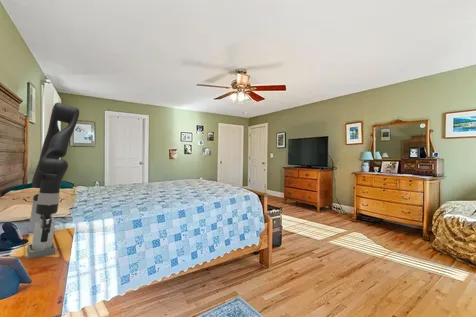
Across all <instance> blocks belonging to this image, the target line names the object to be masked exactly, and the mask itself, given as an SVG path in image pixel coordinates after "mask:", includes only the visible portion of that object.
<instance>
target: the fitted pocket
mask: <svg viewBox="0 0 476 317" xmlns="http://www.w3.org/2000/svg"><path fill="white" fill-rule="evenodd" d="M31 249H32V243H30V244H27V248H26V252H27V258H28V259H33V258H40V257H45V256H46V257H47V256H52V255H56V251H57V247H56V246H55V244H54V241H53V242H52V248H51V249H46V250H39V251H36V250H31Z"/></svg>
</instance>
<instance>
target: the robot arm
mask: <svg viewBox="0 0 476 317" xmlns="http://www.w3.org/2000/svg"><path fill="white" fill-rule="evenodd" d="M79 117H80V109H79V108H77V107H75V106H72V105H69V104H65V103H62V102H59V101H58V102H55V103H54V105H53V107H52V110H51V114H50V119H49V124H48V128H47V132H46V135H45V138H44V140H43V141H44V142H43V144H42V147H41V153H40V155H39V160H38V164H37V165H36V168H35V171H34V174H33V175H32V176H33V177H32V179H31V185H32V187H33V188H34V189H39V192H38V193H37V194H34V195H33V198H32V203H31V204H32V206H31V212H30V220H29V225H28V232H29V233H32V234H34V228H35V223H37V222H41V226H40V228H41V229H42V232H41V233H42V234H41V242H47V239H48V233H50V227H51V222H53V214H56V213H58V211H59V202H60V192H61V185H62V180H63V178H64V176H65V174H66V173H67V171H68V169H69V162H68V161H67V160H65V159H61V158H63V157H65V156H66V155H67V152H68V147H69V143H70V141H71V138H72V135H73V133H74V131H75V128H76V125H77V124H78V120H79ZM59 122H62V123H65V124H67V125H66V126H65V127H64V128H63V129H62V130H60V128H59ZM45 228H48V230H44V229H45Z"/></svg>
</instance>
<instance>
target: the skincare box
mask: <svg viewBox="0 0 476 317" xmlns="http://www.w3.org/2000/svg"><path fill="white" fill-rule="evenodd" d="M40 226H41V222H37V223H35V228H34V233H33V234H32V235H33V236H32V243H31V244H32V249H31V251H39V250H46V249H51V248H52V242H53V243H54V240H53V239H54V232H55V226H56V222H54V221H51V227H50V233H48V239H47V242H41V234H42V233H41V232H42V229H41V228H40ZM44 230H48V228H45V229H44Z"/></svg>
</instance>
